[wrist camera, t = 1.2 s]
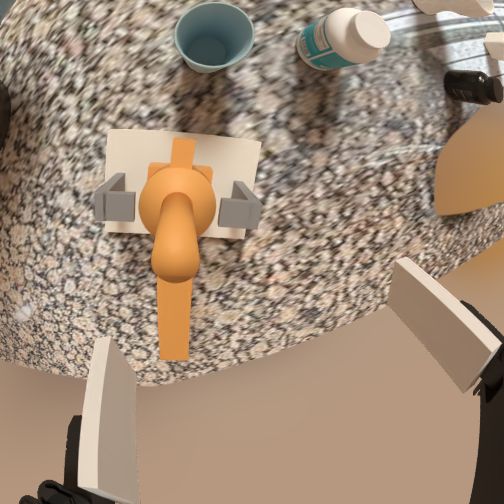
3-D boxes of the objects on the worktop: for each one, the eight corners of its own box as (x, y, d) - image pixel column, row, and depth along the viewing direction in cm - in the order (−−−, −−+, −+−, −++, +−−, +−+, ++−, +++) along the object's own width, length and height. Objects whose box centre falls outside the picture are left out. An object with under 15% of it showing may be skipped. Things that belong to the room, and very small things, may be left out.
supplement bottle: (463, 98, 38) (507, 107, 28) (447, 102, 38) (494, 111, 28) (457, 68, 35) (501, 72, 24) (439, 70, 35) (488, 73, 24)
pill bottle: (349, 52, 32) (410, 41, 20) (320, 80, 33) (378, 73, 22) (315, 17, 28) (368, -10, 17) (283, 44, 30) (330, 19, 18)
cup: (248, 53, 30) (271, 34, 21) (207, 92, 31) (216, 83, 22) (206, 20, 26) (214, -10, 17) (164, 59, 28) (157, 38, 19)
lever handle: (143, 260, 35) (128, 358, 21) (150, 133, 28) (116, 152, 14) (202, 263, 37) (220, 359, 23) (218, 139, 30) (253, 163, 16)
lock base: (107, 227, 36) (86, 268, 26) (110, 129, 30) (81, 136, 20) (241, 234, 42) (261, 275, 32) (258, 141, 36) (288, 152, 26)
